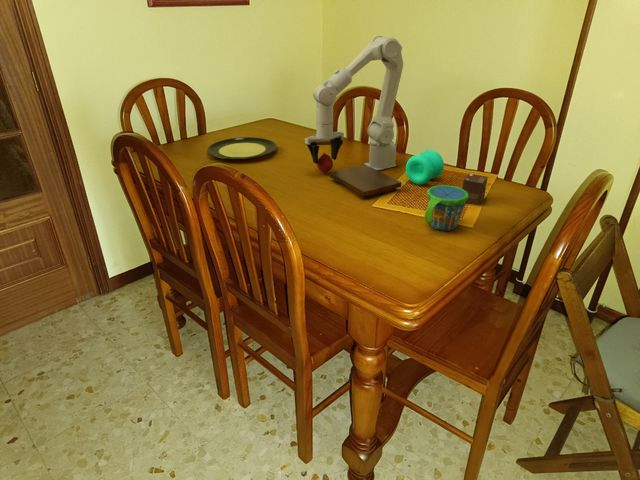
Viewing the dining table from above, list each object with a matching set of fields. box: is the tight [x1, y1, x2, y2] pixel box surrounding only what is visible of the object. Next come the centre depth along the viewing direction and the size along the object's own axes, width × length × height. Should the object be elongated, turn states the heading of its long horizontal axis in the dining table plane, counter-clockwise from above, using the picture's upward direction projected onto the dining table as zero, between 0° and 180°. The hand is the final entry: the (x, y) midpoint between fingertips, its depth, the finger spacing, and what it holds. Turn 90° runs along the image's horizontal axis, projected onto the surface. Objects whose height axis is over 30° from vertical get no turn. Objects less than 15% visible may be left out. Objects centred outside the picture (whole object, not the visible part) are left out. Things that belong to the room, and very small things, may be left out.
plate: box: [206, 136, 278, 161], centre depth 182 cm, size 28×28×2 cm
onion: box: [316, 151, 334, 175], centre depth 159 cm, size 6×6×8 cm
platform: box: [329, 164, 402, 199], centre depth 151 cm, size 15×20×3 cm
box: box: [461, 173, 489, 206], centre depth 138 cm, size 6×6×7 cm
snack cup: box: [423, 184, 469, 232], centre depth 123 cm, size 16×10×10 cm
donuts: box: [405, 149, 445, 185], centre depth 152 cm, size 10×10×10 cm
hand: (324, 160), depth 159 cm, fingers open, 7 cm apart
